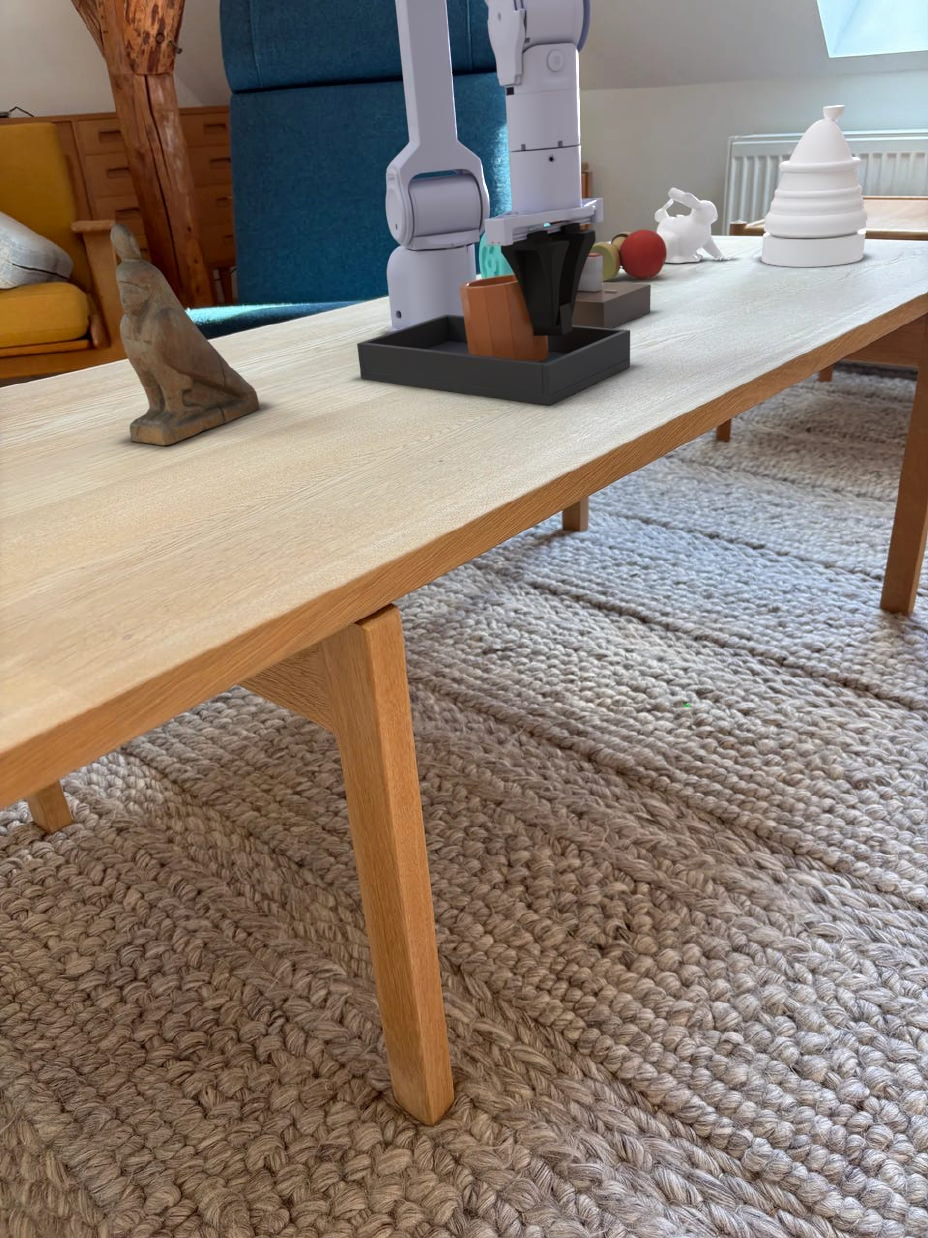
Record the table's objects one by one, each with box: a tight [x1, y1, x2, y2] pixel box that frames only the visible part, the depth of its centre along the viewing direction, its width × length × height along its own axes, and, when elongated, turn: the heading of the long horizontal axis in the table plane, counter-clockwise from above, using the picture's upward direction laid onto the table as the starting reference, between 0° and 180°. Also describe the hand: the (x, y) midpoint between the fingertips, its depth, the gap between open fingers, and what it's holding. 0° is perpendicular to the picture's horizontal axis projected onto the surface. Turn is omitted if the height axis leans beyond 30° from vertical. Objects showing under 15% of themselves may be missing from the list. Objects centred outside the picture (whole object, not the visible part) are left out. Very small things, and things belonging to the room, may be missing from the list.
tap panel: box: [572, 281, 652, 329], centre depth 108 cm, size 12×10×3 cm
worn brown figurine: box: [110, 222, 260, 446], centre depth 78 cm, size 12×6×18 cm, turn 145°
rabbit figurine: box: [654, 187, 733, 264], centre depth 134 cm, size 12×8×10 cm, turn 50°
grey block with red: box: [578, 253, 604, 292], centre depth 106 cm, size 5×1×4 cm, turn 52°
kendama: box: [589, 228, 667, 282], centre depth 129 cm, size 8×6×18 cm
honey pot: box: [761, 105, 868, 268], centre depth 127 cm, size 13×13×18 cm
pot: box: [460, 274, 572, 362], centre depth 86 cm, size 10×7×7 cm
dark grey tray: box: [356, 315, 631, 406], centre depth 89 cm, size 21×13×3 cm, turn 52°
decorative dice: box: [478, 223, 551, 279], centre depth 122 cm, size 8×8×8 cm
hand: (551, 323), depth 84 cm, fingers closed on pot, 2 cm apart
